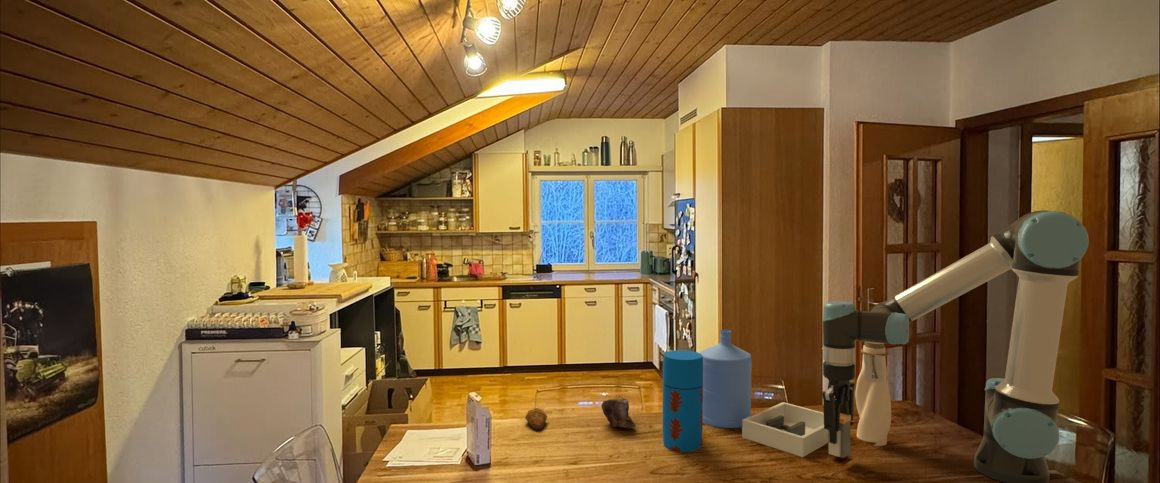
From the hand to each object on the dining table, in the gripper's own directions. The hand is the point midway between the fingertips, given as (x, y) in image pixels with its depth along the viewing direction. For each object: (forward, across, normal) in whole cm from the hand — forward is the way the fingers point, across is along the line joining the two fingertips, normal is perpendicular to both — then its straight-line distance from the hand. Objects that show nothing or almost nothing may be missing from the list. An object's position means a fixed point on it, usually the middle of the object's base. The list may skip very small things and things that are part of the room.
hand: (838, 452), depth 156 cm
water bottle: (+3, -20, 0) cm, 20 cm away
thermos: (+2, +20, -35) cm, 40 cm away
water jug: (+2, -3, -37) cm, 37 cm away
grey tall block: (0, 0, 0) cm, 0 cm away
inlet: (+1, -5, -18) cm, 18 cm away
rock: (+1, +23, -56) cm, 61 cm away
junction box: (+2, -5, -16) cm, 16 cm away
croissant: (+1, +40, -74) cm, 85 cm away
